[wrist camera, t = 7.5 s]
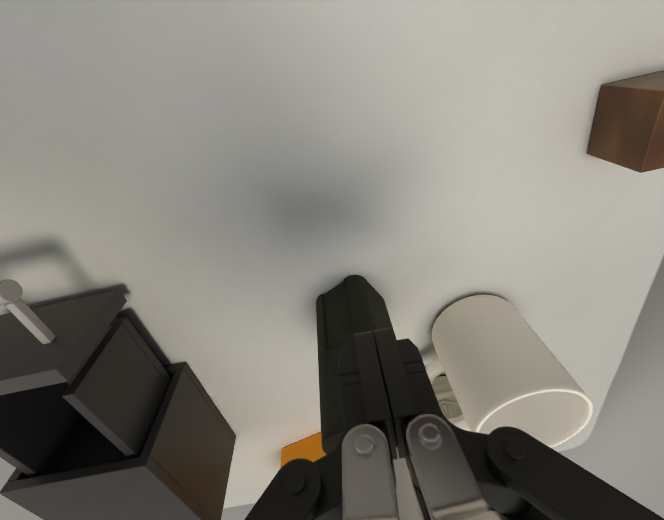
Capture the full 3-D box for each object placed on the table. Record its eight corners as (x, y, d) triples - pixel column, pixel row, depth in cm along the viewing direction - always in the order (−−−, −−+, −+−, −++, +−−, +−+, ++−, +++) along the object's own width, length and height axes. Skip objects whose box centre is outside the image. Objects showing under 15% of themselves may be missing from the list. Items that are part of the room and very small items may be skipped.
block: (600, 84, 21) (665, 91, 17) (672, 68, 21) (754, 71, 17) (586, 153, 24) (640, 173, 20) (650, 139, 23) (717, 156, 20)
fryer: (74, 384, 33) (-2, 493, 24) (185, 361, 32) (145, 466, 24) (144, 453, 40) (103, 555, 32) (236, 436, 39) (218, 535, 31)
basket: (-53, 266, 24) (-189, 347, 17) (81, 235, 23) (-8, 307, 17) (90, 405, 33) (36, 493, 27) (188, 386, 33) (158, 470, 26)
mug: (423, 381, 36) (460, 485, 27) (381, 342, 32) (408, 448, 24) (526, 326, 33) (607, 425, 24) (492, 275, 29) (573, 371, 20)
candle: (345, 332, 31) (425, 908, 10) (310, 301, 29) (322, 963, 8) (389, 305, 30) (590, 912, 9) (356, 270, 28) (521, 979, 6)
